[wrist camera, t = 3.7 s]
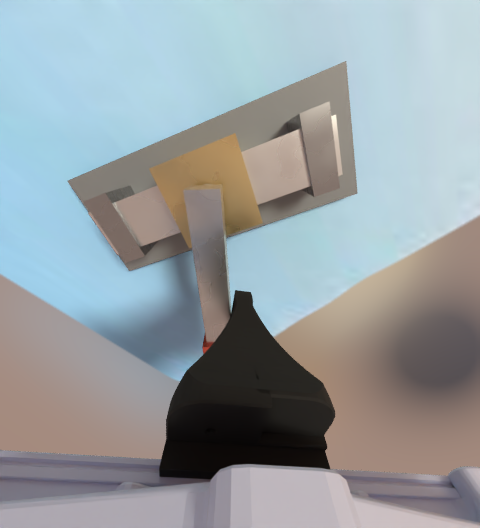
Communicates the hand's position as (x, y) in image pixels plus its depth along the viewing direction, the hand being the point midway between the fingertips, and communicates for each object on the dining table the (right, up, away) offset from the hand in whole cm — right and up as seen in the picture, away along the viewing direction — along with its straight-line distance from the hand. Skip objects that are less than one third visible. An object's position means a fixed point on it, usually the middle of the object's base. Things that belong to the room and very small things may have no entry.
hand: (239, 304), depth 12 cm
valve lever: (-1, +1, 0) cm, 2 cm away
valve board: (-2, +8, +2) cm, 9 cm away
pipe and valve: (-2, +8, +2) cm, 9 cm away
